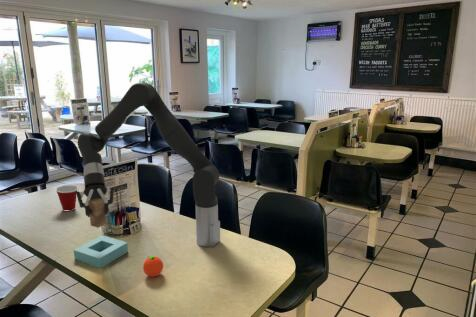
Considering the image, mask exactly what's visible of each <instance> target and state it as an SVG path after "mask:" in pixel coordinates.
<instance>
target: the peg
mask: <svg viewBox="0 0 476 317" xmlns="http://www.w3.org/2000/svg"><path fill="white" fill-rule="evenodd" d="M88 204H89V212H90V217H89V221H90V222H89V224H90V226H91V227H95V228H97V229H98V228H100V227H102V226H105V225H107V217H106V216H107V215H105V206H104V205H105V204H104V199H99V198H95V199H92V200H90V201H88Z"/></svg>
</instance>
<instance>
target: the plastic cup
mask: <svg viewBox="0 0 476 317" xmlns="http://www.w3.org/2000/svg"><path fill="white" fill-rule="evenodd" d="M55 191H56V193H57V196H58V200H59V203H60V205H61V208H62V210H72V209H74V208H75V209H76V202H77V194H76V192H78V191H79V187H78V186H77V185H71V184H69V185H67V184H65V185H61V186H58V187H56V188H55ZM75 209H74V210H75ZM72 211H73V210H72Z"/></svg>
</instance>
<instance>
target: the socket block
mask: <svg viewBox="0 0 476 317" xmlns="http://www.w3.org/2000/svg"><path fill="white" fill-rule="evenodd" d="M128 252H129V247H128V242H126V241H123V240H120V239H117V238H112V237H110V236H106V235H100V236H97V237H96V238H94V239H92V240H91V241H88V242H87V243H84V244H82V245H80V246H78V247H76V248H75V249H73V256H74V260H76V261H79V262H80V263H81V262H82V263H84V264H87V265H89V266H93V267H96V268H98V269H102V268H103V267H106V266H107V265H109V264H110V263H111V262H114V260H116V259H118V258H120V257H122V256H123V255H124V254H126V253H128Z"/></svg>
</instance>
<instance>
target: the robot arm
mask: <svg viewBox="0 0 476 317" xmlns="http://www.w3.org/2000/svg"><path fill="white" fill-rule="evenodd" d="M140 107H144V108H145V109H146V110H147V112H149V114H150V115H151V116H152V118H153V119H154V121H155V123H156V126H157V129H158V132H159V134H160V135H161V136H160V137H162V139H163V140H164V142H165V143H166V145H167V146H169V148H170V149H171V150H172V151H173V152H174V153H175V154H177V155H178V156H180V157H181V158H183V159H184V160H186V161H187V162H188V164H189V165H190V166H191V167H192V169H193V170H194V173H193V176H192V192H193V199H194V202H195V230H196V232H195V234H196V236H195V237H196V244H197V245H198V246H200V247H206V248H208V247H211V248H214V247H215V246H216V245H217V244H219V243H220V242H221V221H220V220H219V206H218V205H219V202H218V201H219V199H218V196H217V195H216V185H217V183H218V181H219V180H220V173H219V170H218V168H217V167H216V166H215V165H214V163H212V162H211V160H210V159H208V157H207V156H206V155H205V154H204V153H203V151H201V149H200V148H199V146H198V145H197V144H196V143H195V141H194V140H193V139H192V137H191V136H190V135H189V133H188V132H187V130H186V129H185V128H184V126H183V125H182V124H181V123H180V122H179V120H178V119H177V118H176V116H175V115H174V114H173V113H172V112H171V110H170V109H169V108H168V106H167V105H166V104H165V102H164V101H163V99H162V97H161V96H160V94H159V93H158V91H157V89H156V88H155V87H154V86H153V85H152V84H150V83H147V82H135V83H132V85H131V86H130V87H129V89H128V90H127V91H126V92H125V93H124V95H123V97H122V98H121V100H120V101H119V102H118V103H117V104H116V105H115V107H113V109H112V110H111V111H110V112H109V113H108V114H107V115H106V116H105V117H104V118H102V119H101V121H99V122H98V123H97V124H96V126H95V127H94V131H95V133H96V134H93V133H90V132H87V131H84V132H81V134H79V136H78V138H77V146H78V149H79V152H80V155H81V157H82V161H83V179H84V182H83V183H84V184H83V185H84V189H83V191H79V190H77V192H76V199H77V201H78V204H79V208H81V209H82V208H84V211H85V212H84V213H85V216H87V217H88V218H90V212H89V204H88V201H90V200H92V199H95V198H99V199H104V204H105V205H104V206H105V215H106V216H107V215H108V213H109V212H110V209H109V205H112V204H114V194H115V188H114V187H111V188H107V186H106V182H105V171H104V167H103V160H102V155H101V153H100V152H101V151H103V150H104V148H105V147H106V144H107V142H108V141H109V139H110V138H111V136H112V135H113V134H115V133H116V132H117V131H118V130H119V129H120V128H121V127H122V125H123V124H124V123H125V121H126V119H127V118H128V117H129V116H130V115H131V114H132V113H133V112H135V111H136V110H137V109H139V108H140ZM106 193H108V195H109V199H107V198H106V196H105V195H106ZM84 195H85V196H86V199H85V200H86V201H85V202H83V199H82V198H83V197H84Z"/></svg>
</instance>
